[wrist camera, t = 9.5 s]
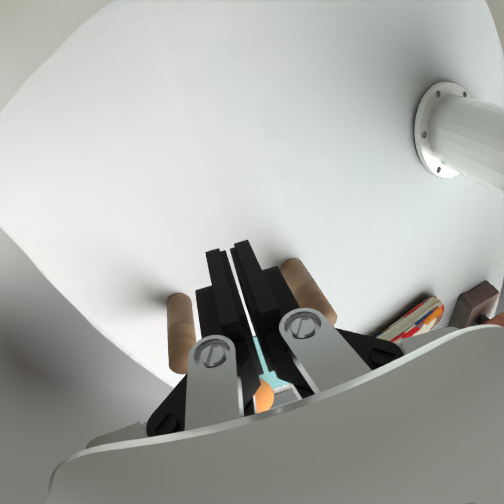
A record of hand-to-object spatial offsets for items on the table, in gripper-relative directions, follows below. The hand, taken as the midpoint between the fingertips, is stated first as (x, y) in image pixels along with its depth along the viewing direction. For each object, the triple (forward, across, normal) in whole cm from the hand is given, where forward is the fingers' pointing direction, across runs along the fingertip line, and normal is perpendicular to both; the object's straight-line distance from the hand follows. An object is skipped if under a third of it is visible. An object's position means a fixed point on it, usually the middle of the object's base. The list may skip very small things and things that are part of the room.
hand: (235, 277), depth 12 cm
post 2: (+17, -7, +14) cm, 23 cm away
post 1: (+17, +7, +14) cm, 23 cm away
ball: (+14, +2, +33) cm, 36 cm away
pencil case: (+18, -23, +34) cm, 44 cm away
